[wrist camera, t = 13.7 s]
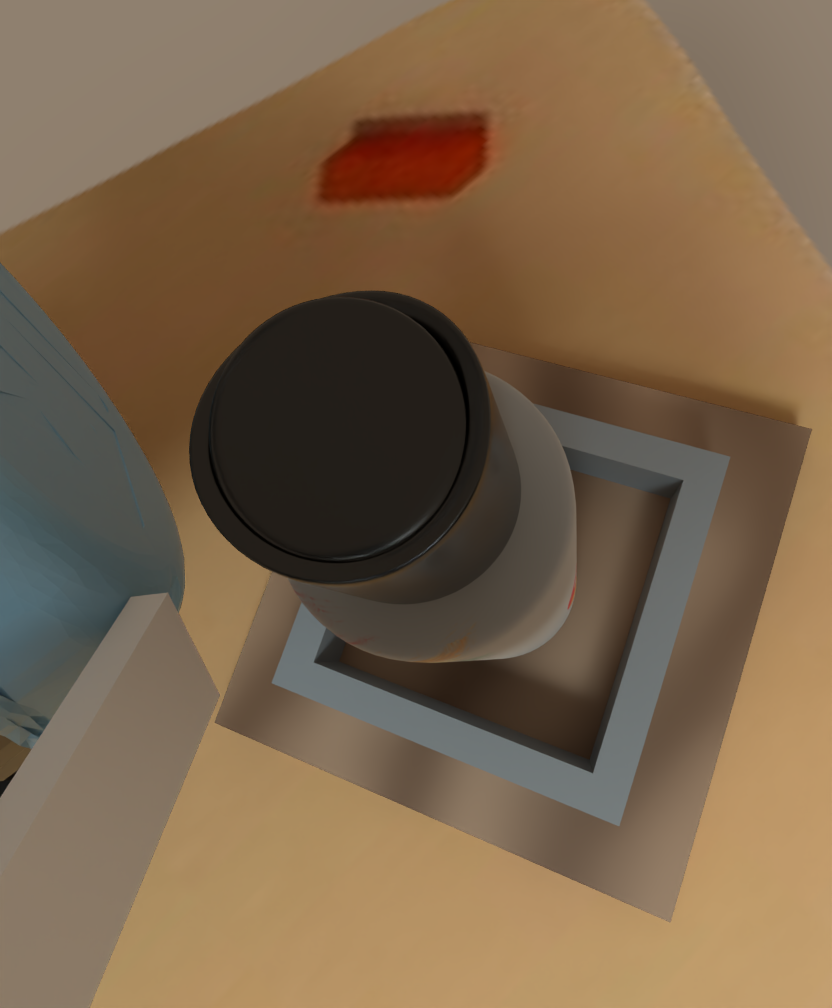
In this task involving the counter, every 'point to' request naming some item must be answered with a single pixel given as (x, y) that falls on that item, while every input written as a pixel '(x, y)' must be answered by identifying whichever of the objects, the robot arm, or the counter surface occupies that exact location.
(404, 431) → the lotion bottle
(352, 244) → the counter surface
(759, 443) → the stand board
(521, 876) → the counter surface
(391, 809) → the counter surface
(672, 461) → the bottle collar
